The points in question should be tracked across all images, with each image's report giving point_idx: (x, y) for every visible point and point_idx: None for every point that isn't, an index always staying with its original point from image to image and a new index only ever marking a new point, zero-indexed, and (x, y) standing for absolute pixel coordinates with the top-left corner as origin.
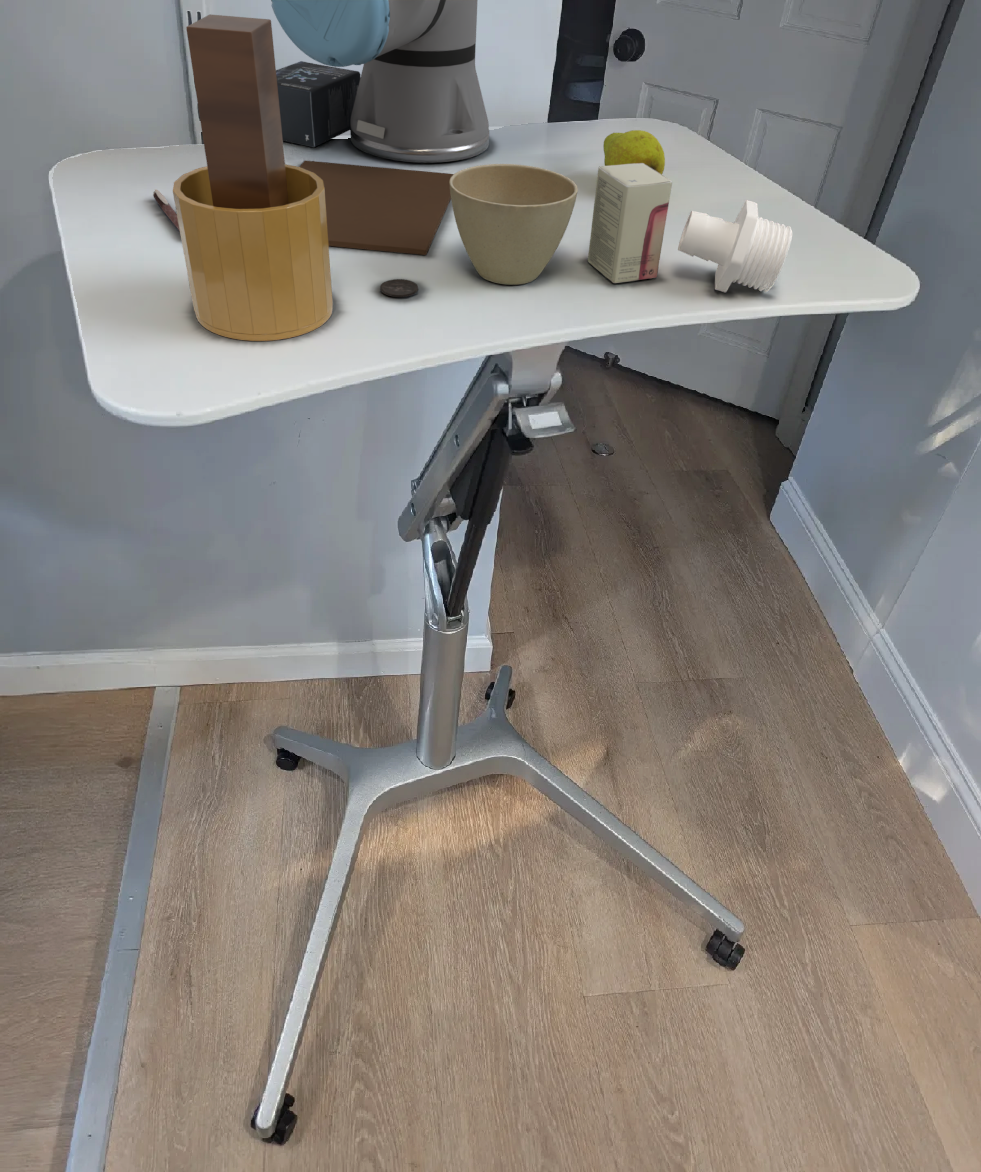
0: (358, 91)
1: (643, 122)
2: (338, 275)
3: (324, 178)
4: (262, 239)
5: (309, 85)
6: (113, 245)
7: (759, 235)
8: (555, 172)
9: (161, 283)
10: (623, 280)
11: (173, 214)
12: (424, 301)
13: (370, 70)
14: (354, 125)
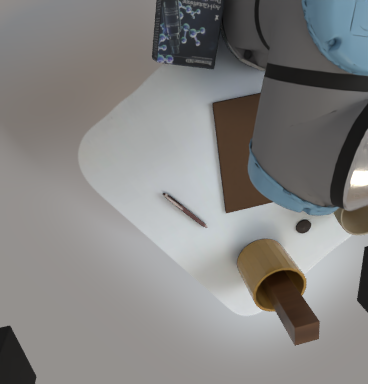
0: (242, 38)
1: None
2: (277, 224)
3: (236, 129)
4: None
5: (207, 53)
6: (177, 242)
7: None
8: None
9: (215, 259)
10: None
11: (191, 216)
12: (313, 229)
13: (262, 48)
14: (235, 50)
